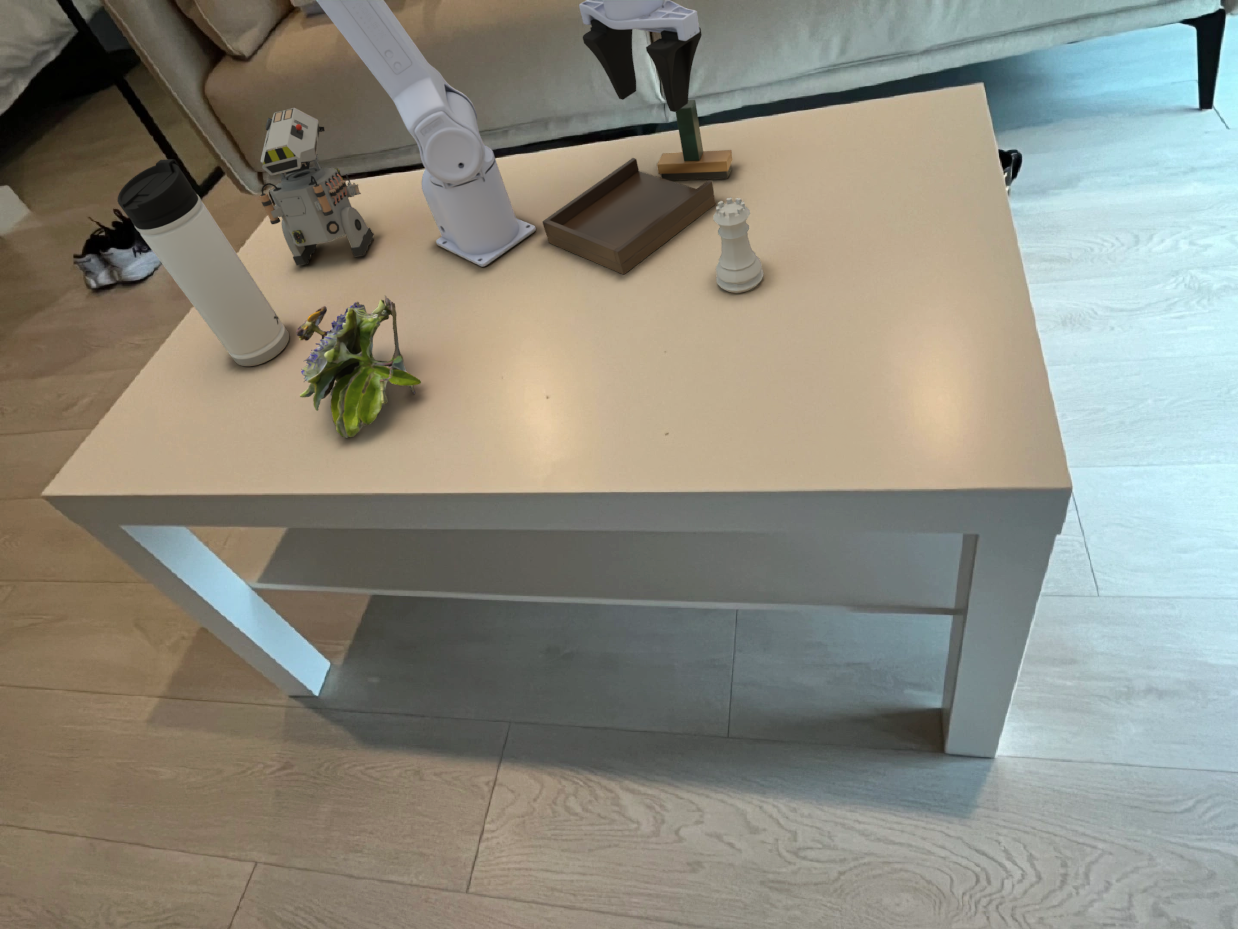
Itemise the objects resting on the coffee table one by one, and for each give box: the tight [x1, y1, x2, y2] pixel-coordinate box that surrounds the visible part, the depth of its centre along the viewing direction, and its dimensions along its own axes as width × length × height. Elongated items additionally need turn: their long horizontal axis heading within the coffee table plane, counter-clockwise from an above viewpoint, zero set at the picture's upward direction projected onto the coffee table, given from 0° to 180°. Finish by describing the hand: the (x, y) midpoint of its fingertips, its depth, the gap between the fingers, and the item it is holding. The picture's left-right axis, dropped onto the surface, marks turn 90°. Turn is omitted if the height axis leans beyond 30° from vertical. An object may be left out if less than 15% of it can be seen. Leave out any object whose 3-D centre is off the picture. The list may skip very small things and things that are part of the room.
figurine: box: [258, 107, 375, 266], centre depth 94 cm, size 9×12×15 cm
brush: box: [656, 99, 734, 182], centre depth 89 cm, size 8×2×8 cm, turn 72°
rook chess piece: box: [712, 196, 764, 294], centre depth 74 cm, size 4×4×8 cm
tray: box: [541, 157, 716, 275], centre depth 87 cm, size 12×14×3 cm
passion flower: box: [295, 295, 422, 439], centre depth 75 cm, size 11×11×12 cm
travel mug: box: [117, 158, 290, 367], centre depth 80 cm, size 6×7×20 cm
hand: (652, 100), depth 85 cm, fingers open, 7 cm apart
